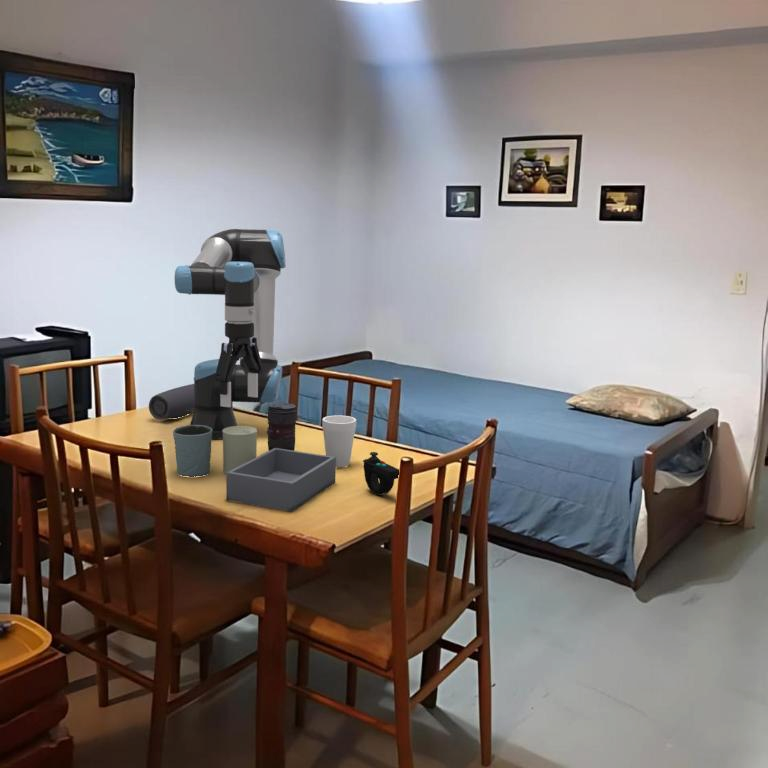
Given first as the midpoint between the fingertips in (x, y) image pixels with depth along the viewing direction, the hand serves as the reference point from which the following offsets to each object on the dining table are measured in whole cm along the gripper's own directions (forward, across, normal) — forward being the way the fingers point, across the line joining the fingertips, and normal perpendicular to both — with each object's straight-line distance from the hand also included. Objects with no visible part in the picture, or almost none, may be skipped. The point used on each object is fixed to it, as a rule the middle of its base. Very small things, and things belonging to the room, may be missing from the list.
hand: (239, 401), depth 217 cm
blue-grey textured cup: (+20, -7, +10) cm, 23 cm away
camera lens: (+19, +18, -3) cm, 27 cm away
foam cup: (+20, +18, -21) cm, 34 cm away
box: (+19, -9, -18) cm, 28 cm away
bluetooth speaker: (+19, +43, +49) cm, 68 cm away
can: (+20, 0, 0) cm, 20 cm away
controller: (+20, 0, -41) cm, 45 cm away
